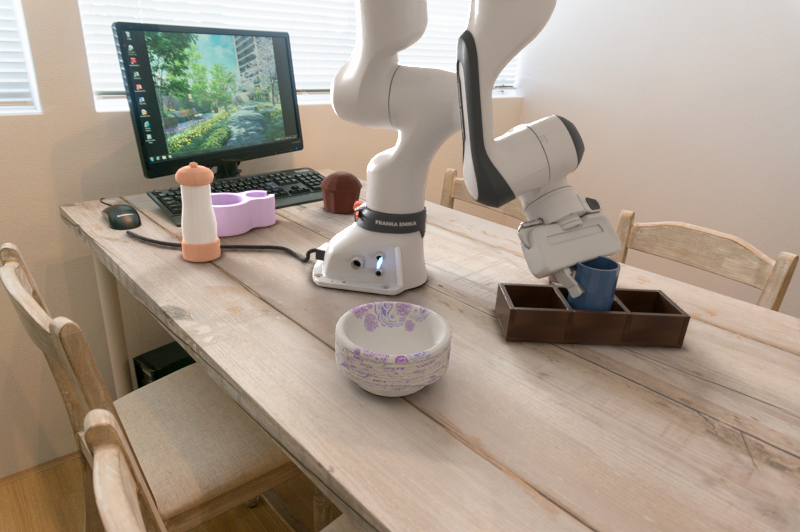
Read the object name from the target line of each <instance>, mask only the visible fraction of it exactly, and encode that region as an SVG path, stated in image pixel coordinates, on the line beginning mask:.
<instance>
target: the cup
mask: <svg viewBox="0 0 800 532" xmlns="http://www.w3.org/2000/svg"><path fill="white" fill-rule="evenodd" d="M620 271H621V264H620V263H619V262H618V261H617V260H614V259H613V258H611V257H609V258H607V257H604V256H598V258H596V259H594V260H590V261H587V262H584V263H580V262H577V264H576V265H574V268H573V273H572V278H573V279H574V280H575V281H576V282H577V283H581V284H582V285H583V288H584V289H585V294H583V295H581V296H578V297H576V298H572V297H571V295H570V293H569V294H568V299H567V302H568V303H569V305H570V306H571V308H572V309H573V310H594V311H611V307H612V303H613V298H614V294H615V290H616V288H617V285H618V280H619V277H620Z"/></svg>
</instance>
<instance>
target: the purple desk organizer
mask: <svg viewBox="0 0 800 532" xmlns="http://www.w3.org/2000/svg"><path fill="white" fill-rule="evenodd" d="M275 196H276V195H275V193H269V194H268V190H259V189H256V190H255V189H254V190H246V191H241V192H211V199H212V206H213V210H214V214H215V218H216V222H217V237H218V238H219V237H221V238H224V237H232V236H233V237H234V236H238V235H242V234H245V233H248V232H249V231H250V230H251V229H254V228H255V229H256V228H265V227H269V226H272V225H275V224H276V220H277V219H276V197H275Z"/></svg>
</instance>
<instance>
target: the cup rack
mask: <svg viewBox="0 0 800 532" xmlns="http://www.w3.org/2000/svg"><path fill="white" fill-rule="evenodd" d="M568 294H569V291H568V289H566V288H565V287H564V286H563V285H556V284H555V285H554V284H537V283H536V284H535V283H533V284H532V283H511V282H509V283H508V282H498V284H497V291H496V299H495V306H494V314H495V318H496V319H497V322H498V324H499V327H500V330H501V332H502V335H503V337H504V340H505V341H506V342H522V343H523V342H525V343H548V344H549V343H550V344H577V345H596V346H597V345H598V346H600V345H601V346H621V347H622V346H623V347H624V346H625V347H648V348H670V349H673V348H674V349H682V347H683V344H684V341H685V338H686V334H687V331H688V327H689V325H690V321H691V315H689V314H688V313H687V312H686V311H685V310H684V309H682V307H680V306H679V305H678V304H677V303H676V302H675V301H673V300H672V298H670V297H669V296H668V295H667V294H666V293H665V292H664V291H662V290H661V289H647V288H644V289H643V288H623V287H616V290H615V294H614V298H613V303H612V307H611V311H594V310H573V309H572V308H571V306H570V305H569V303H568V302H567V299H568Z"/></svg>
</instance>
